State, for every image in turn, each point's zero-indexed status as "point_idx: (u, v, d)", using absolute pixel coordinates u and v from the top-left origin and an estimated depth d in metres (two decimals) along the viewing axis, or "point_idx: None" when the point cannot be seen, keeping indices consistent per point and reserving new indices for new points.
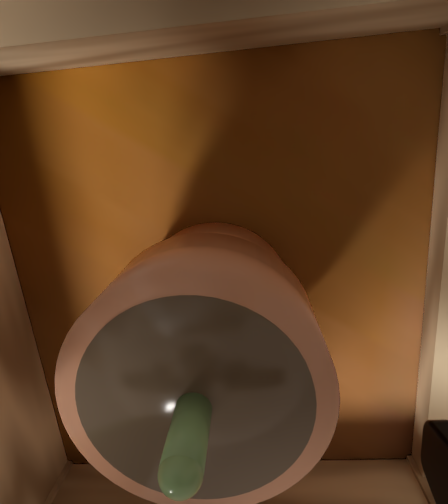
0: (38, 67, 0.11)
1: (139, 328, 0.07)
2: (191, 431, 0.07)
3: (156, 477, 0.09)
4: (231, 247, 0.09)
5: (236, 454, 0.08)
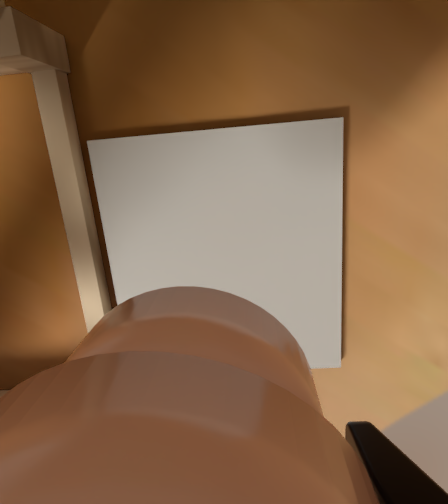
0: None
1: None
2: None
3: None
4: (195, 429, 0.03)
5: None
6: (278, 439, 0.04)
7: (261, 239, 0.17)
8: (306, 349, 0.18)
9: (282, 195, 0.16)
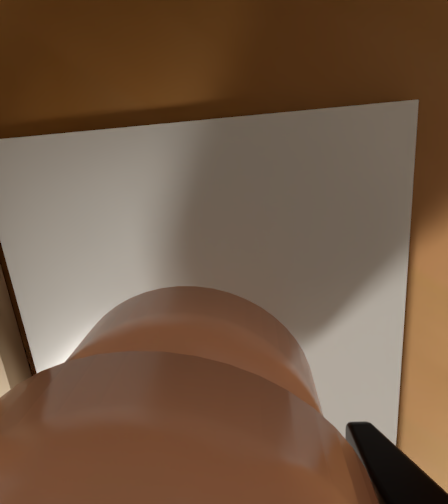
0: None
1: None
2: None
3: None
4: (195, 428, 0.03)
5: None
6: (278, 439, 0.04)
7: (270, 304, 0.10)
8: None
9: (307, 233, 0.10)
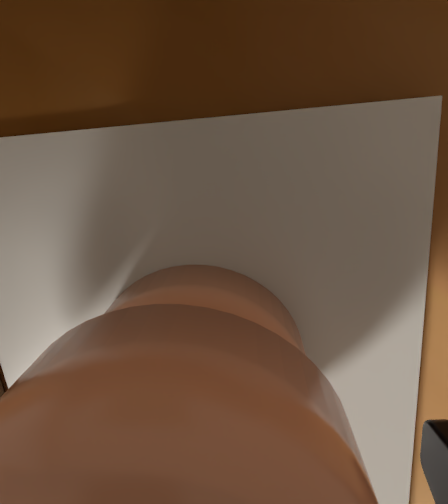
0: None
1: None
2: None
3: None
4: (209, 348, 0.05)
5: None
6: (269, 360, 0.05)
7: None
8: None
9: (313, 248, 0.08)
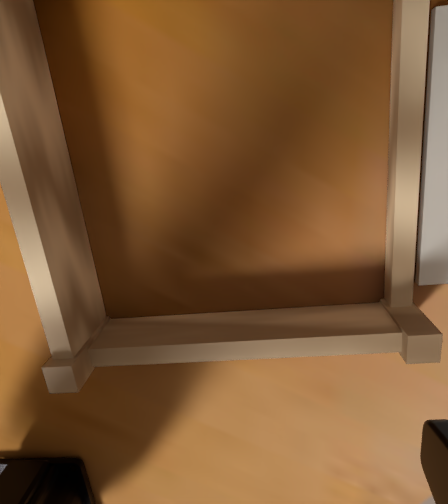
0: None
1: None
2: None
3: None
4: None
5: None
6: None
7: None
8: None
9: None
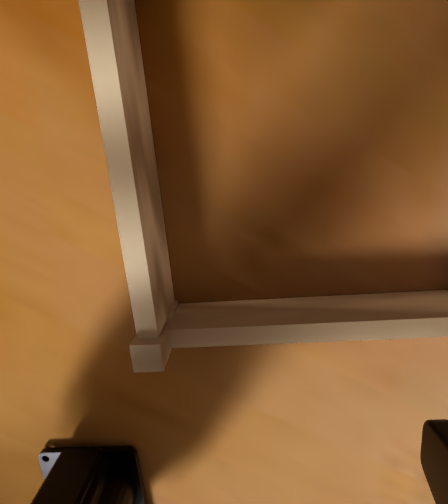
0: None
1: None
2: None
3: None
4: None
5: None
6: None
7: None
8: None
9: None
